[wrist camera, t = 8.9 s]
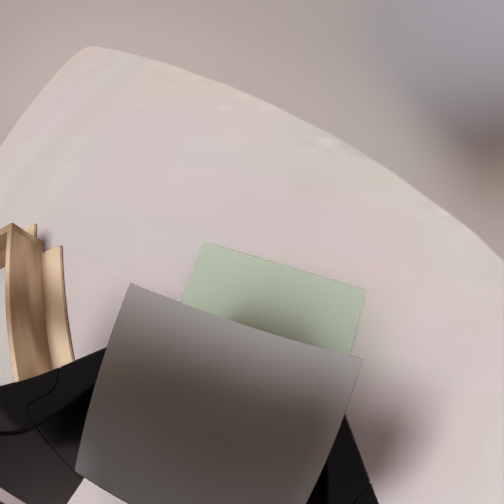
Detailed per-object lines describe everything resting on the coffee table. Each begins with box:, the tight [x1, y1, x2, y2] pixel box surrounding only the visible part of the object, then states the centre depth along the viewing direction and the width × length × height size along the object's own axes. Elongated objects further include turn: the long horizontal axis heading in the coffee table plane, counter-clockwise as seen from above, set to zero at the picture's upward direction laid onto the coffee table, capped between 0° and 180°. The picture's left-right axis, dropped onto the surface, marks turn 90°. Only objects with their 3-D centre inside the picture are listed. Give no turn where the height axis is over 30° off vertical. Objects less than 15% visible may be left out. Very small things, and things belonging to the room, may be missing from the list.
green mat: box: [181, 242, 366, 356], centre depth 15 cm, size 14×10×1 cm
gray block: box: [75, 283, 362, 504], centre depth 10 cm, size 5×5×10 cm
